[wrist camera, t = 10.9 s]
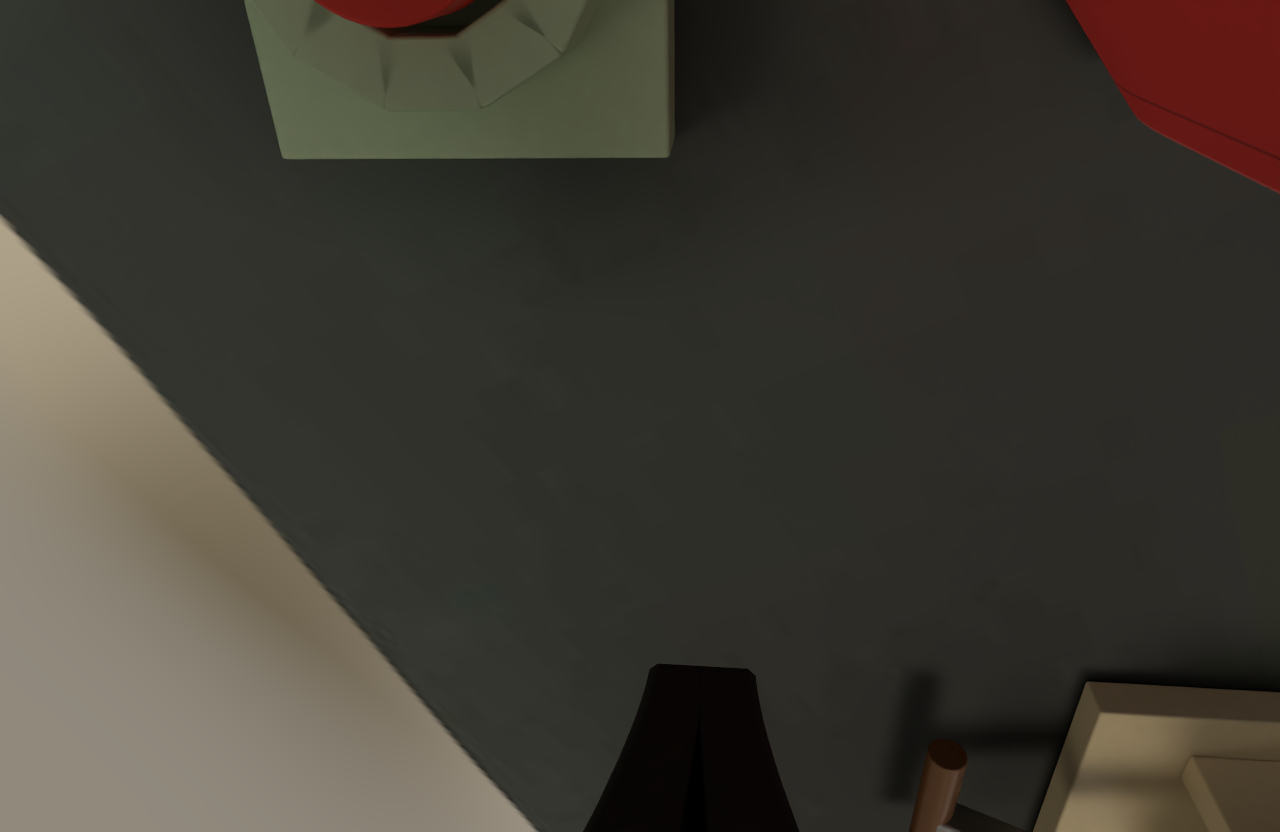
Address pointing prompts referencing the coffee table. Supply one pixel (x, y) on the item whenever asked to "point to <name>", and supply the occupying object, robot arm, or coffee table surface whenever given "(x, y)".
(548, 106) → the button box
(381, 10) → the button
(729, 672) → the robot arm
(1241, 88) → the alarm clock
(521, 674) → the coffee table surface
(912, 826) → the lever
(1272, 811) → the bracket
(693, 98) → the coffee table surface
